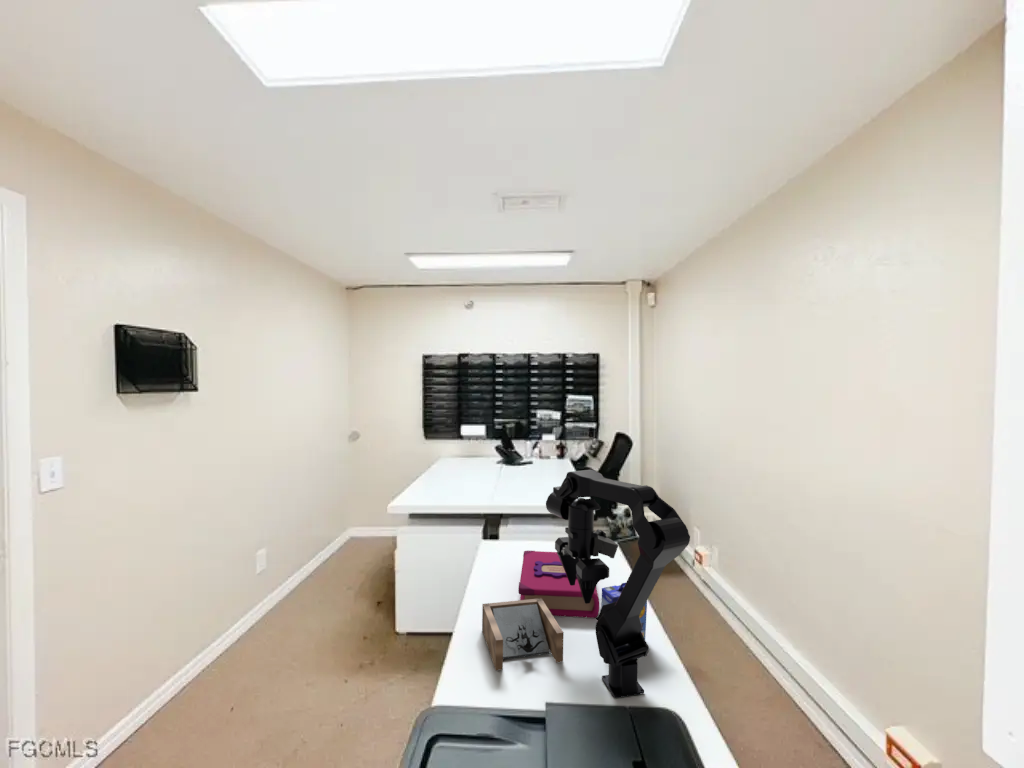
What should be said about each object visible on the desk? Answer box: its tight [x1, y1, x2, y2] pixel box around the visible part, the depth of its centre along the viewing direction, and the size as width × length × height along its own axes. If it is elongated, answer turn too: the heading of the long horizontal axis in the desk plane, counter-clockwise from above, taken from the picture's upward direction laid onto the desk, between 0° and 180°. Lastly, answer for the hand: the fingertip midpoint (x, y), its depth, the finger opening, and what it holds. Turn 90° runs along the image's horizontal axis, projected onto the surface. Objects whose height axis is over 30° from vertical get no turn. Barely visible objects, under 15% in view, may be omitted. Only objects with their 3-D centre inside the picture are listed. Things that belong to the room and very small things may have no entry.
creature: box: [506, 625, 544, 653], centre depth 110 cm, size 8×5×8 cm
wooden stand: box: [481, 598, 564, 672], centre depth 114 cm, size 16×15×6 cm
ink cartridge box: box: [600, 582, 648, 640], centre depth 117 cm, size 10×6×14 cm, turn 111°
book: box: [517, 550, 600, 619], centre depth 141 cm, size 21×28×8 cm
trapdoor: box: [492, 604, 551, 660], centre depth 114 cm, size 12×11×1 cm
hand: (579, 593), depth 112 cm, fingers open, 9 cm apart
